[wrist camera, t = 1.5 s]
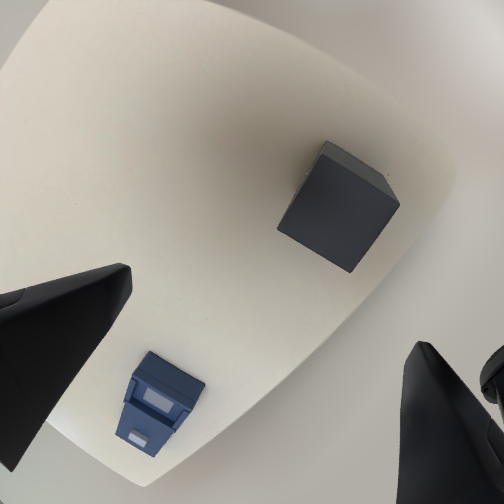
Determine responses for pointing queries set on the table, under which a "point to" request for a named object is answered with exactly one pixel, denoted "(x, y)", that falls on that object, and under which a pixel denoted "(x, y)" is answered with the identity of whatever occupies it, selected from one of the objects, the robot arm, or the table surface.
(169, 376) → the blue long open box
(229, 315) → the table surface
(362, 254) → the block
